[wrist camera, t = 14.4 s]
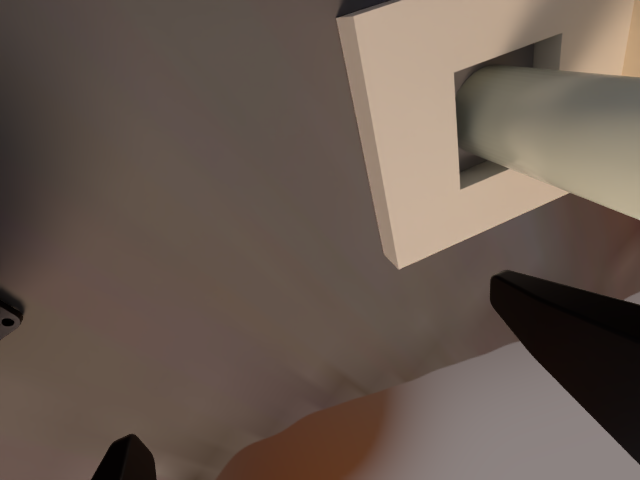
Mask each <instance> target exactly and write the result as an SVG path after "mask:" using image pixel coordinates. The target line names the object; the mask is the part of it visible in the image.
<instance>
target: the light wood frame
mask: <svg viewBox="0 0 640 480" xmlns="http://www.w3.org/2000/svg"><path fill="white" fill-rule="evenodd" d="M336 20H337V25H338V30H339V35H340V40H341V45H342V50H343V55H344V60H345V65H346V70H347V75H348V80H349V85H350V90H351V94H352V99H353V104H354V109H355V114H356V119H357V124H358V129H359V134H360V139H361V144H362V149H363V154H364V159H365V164H366V169H367V174H368V179H369V184H370V188H371V193H372V198H373V203H374V208H375V213H376V218H377V223H378V228H379V233H380V238H381V243H382V248H383V253H384V255H385V256H386V257H387V258H388V259H389V260H390V261H391V262H392V263H393V264H394V265H395V266H396V267H397V268H398V269H401V268H403V267H405V266H407V265H410V264H412V263H414V262H416V261H419V260H421V259H423V258H425V257H428V256H430V255H432V254H434V253H436V252H439V251H441V250H443V249H445V248H448V247H450V246H452V245H454V244H456V243H459V242H461V241H463V240H465V239H468V238H470V237H472V236H474V235H477V234H479V233H481V232H483V231H485V230H488V229H490V228H492V227H494V226H497V225H499V224H501V223H503V222H505V221H508V220H510V219H512V218H514V217H517V216H519V215H521V214H523V213H526V212H528V211H530V210H532V209H534V208H537V207H539V206H541V205H543V204H546V203H548V202H550V201H552V200H554V199H557V198H559V197H561V196H563V195H566V194H568V193H570V192H567V191H565V190H562V189H560V188H557V187H555V186H552V185H550V184H547V183H545V182H542V181H540V180H537V179H534V178H532V177H529V176H527V175H524V174H522V173H519V172H517V171H514V170H512V169H509V168H507V167H504V166H501V165H499V164H496V163H494V162H491V161H489V160H486V159H484V158H481V157H479V156H476V155H474V154H471V153H468V152H466V151H464V150H462V149H461V148H459V147H458V138H457V121H456V103H455V96H456V94H457V93H458V91H459V89H460V88H461V86H462V85H463V83H464V82H465V81H466V80H467V79H468V78H469V77H470V76H471V75H472V74H473V73H475V72H476V71H478V70H479V69H481V68H483V67H486V66H489V65H507V66H518V67H529V68H541V69H552V70H563V71H574V72H585V73H597V74H608V75H619V76H630V77H640V0H390V1H387V2H384V3H381V4H378V5H375V6H372V7H369V8H365V9H362V10H359V11H356V12H353V13H350V14H347V15H344V16H341V17H338V18H336Z"/></svg>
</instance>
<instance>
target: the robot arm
mask: <svg viewBox="0 0 640 480" xmlns="http://www.w3.org/2000/svg"><path fill="white" fill-rule="evenodd" d="M490 302H491V304H492V306H493V308H494V309H495V311H496V312H497V313H498V314H499V316H500V317H501V318H502V319H503V320H504V322H505V323H506V324H507V325H508V327H509V328H510V329H511V330H512V332H513V333H514V334H515V335H516V337H517V338H518V339H519V340H520V341H521V343H522V344H523V345H524V346H525V348H526V349H527V350H528V351H529V352H530V353H531V355H532V356H533V357H534V358H535V359H536V360H537V361H538V362H539V363H540V364H541V365H542V366H543V367H544V368H545V369H546V370H547V371H548V372H549V373H550V374H551V375H552V376H553V377H554V378H555V379H556V380H557V381H558V382H559V383H560V384H561V385H562V386H563V388H564V389H565V390H566V391H568V392H569V394H570V395H571V396H572V397H573V398H575V400H576V401H577V402H578V403H579V404H580V405H581V406H582V407H583V408H584V409H585V410H586V411H587V412H588V413H589V414H590V415H591V416H592V417H593V418H594V419H595V420H596V421H597V422H598V423H599V424H600V425H601V426H602V427H603V428H604V429H605V430H606V431H607V432H608V433H609V434H610V435H611V436H612V437H613V438H614V439H615V440H616V441H617V442H618V443H619V444H620V445H621V446H622V447H623V448H624V449H625V450H626V451H627V452H628V453H629V454H630V455H631V456H632V457H633V458H634V459H635V460H636V461H637V462H638V463H639V464H640V305H639V304H635V303H631V302H627V301H624V300H620V299H616V298H613V297H609V296H605V295H601V294H597V293H594V292H590V291H586V290H582V289H579V288H575V287H571V286H567V285H563V284H560V283H556V282H552V281H548V280H545V279H541V278H537V277H533V276H529V275H526V274H522V273H518V272H514V271H510V270H504V271H501V272H499V273H497V274H494V275H493V276H492V277H491V280H490ZM5 318H10V319H12V320H13V321H7V320H6V319H5ZM22 320H23V315H22V314H21V313H20V312H19V311H18V310H16V309H14V308H13V307H11V306H10V305H8V304H6V303H5V302H3V301H1V300H0V340H1V339H2V338H4V337H5V336H7V335H8V334H10V333H11V332H12V331H14V330H15V329H17V328H18V327H19V326H20V324H21V322H22ZM91 480H157V479H156V470H155V462H154V458H153V455H152V453H151V452H150V451H149V449H148V448H147V447H146V446H145V445H144V444H143V443H142V441H141V440H140V439H139V438H138V437H137V436H136V435H134V434H129V435H127V436H125V437H122V438H120V439H118V440H116V441H114V442H113V443H112V444H111V445H110V447H109V449H108V451H107V452H106V454H105V456H104V458H103V459H102V461H101V463H100V465H99V466H98V468H97V470H96V472H95V473H94V475H93V477H92V479H91Z"/></svg>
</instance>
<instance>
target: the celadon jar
mask: <svg viewBox="0 0 640 480" xmlns="http://www.w3.org/2000/svg"><path fill="white" fill-rule="evenodd" d="M455 103H456V121H457V138H458V147H459V148H461V149H462V150H464V151H466V152H468V153H471V154H474V155H476V156H479V157H481V158H484V159H486V160H489V161H491V162H494V163H496V164H499V165H501V166H504V167H507V168H509V169H512V170H514V171H517V172H519V173H522V174H524V175H527V176H529V177H532V178H534V179H537V180H540V181H542V182H545V183H547V184H550V185H552V186H555V187H557V188H560V189H562V190H565V191H567V192H570V193H573V194H575V195H578V196H580V197H583V198H585V199H588V200H590V201H593V202H595V203H598V204H600V205H603V206H606V207H608V208H611V209H613V210H616V211H618V212H621V213H623V214H626V215H628V216H631V217H633V218H636V219H639V220H640V77H630V76H619V75H608V74H597V73H585V72H574V71H563V70H552V69H541V68H529V67H518V66H507V65H489V66H486V67H483V68H481V69H479V70H478V71H476V72H475V73H473V74H472V75H471V76H470V77H469V78H468V79H467V80H466V81H465V82H464V83H463V85H462V86H461V88H460V89H459V91H458V93H457V94H456V96H455Z"/></svg>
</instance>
